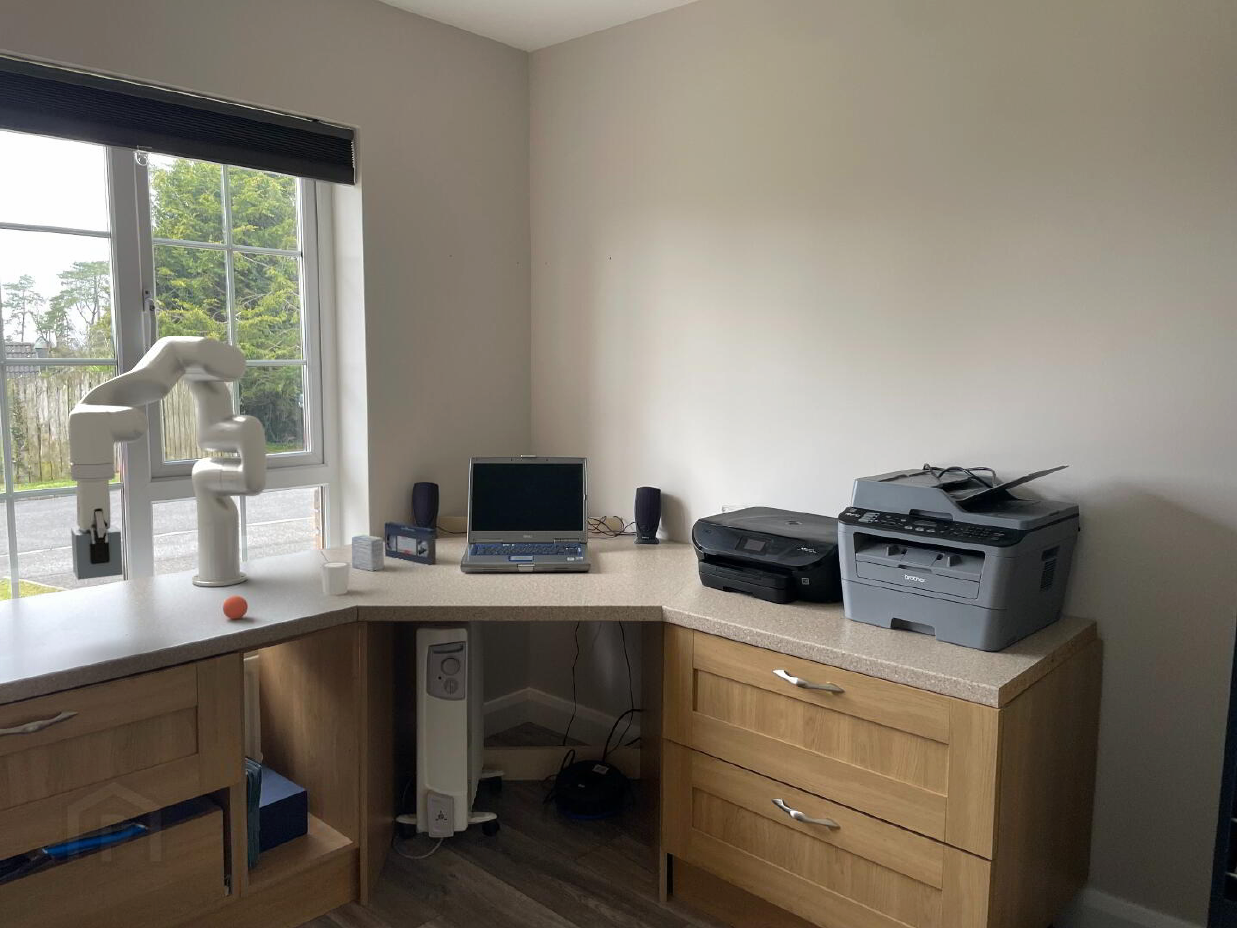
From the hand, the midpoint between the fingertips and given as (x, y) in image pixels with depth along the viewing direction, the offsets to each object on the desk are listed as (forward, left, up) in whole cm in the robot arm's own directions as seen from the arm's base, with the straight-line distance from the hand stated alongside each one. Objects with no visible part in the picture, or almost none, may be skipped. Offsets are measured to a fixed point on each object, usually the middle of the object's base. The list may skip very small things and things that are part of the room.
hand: (97, 558), depth 180 cm
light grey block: (-31, +68, -17) cm, 76 cm away
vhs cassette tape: (-35, +82, -17) cm, 90 cm away
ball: (0, +26, -14) cm, 29 cm away
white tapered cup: (-11, +52, -17) cm, 55 cm away
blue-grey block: (0, 0, -3) cm, 3 cm away
